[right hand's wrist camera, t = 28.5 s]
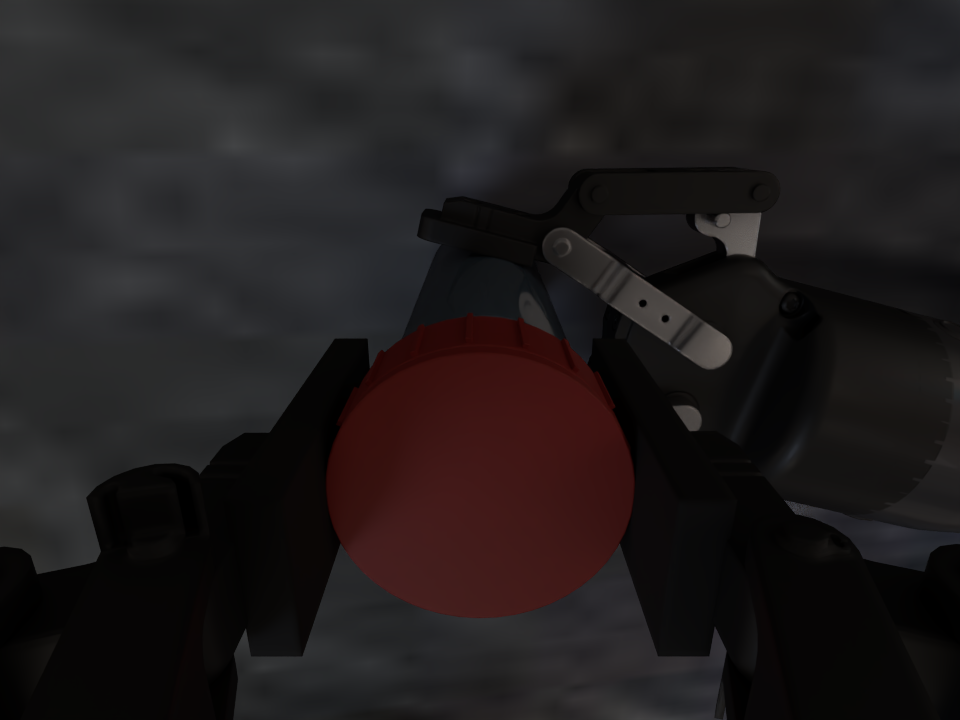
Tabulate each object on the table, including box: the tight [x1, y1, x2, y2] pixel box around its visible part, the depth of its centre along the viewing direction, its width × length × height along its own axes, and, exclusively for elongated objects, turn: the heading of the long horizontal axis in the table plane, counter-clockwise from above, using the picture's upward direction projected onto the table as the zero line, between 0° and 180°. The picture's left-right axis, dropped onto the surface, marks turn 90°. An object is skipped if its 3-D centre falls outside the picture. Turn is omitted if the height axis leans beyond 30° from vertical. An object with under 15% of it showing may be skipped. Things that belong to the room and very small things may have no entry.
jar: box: [402, 244, 567, 341], centre depth 19 cm, size 5×5×15 cm
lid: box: [325, 313, 635, 618], centre depth 11 cm, size 5×5×2 cm
